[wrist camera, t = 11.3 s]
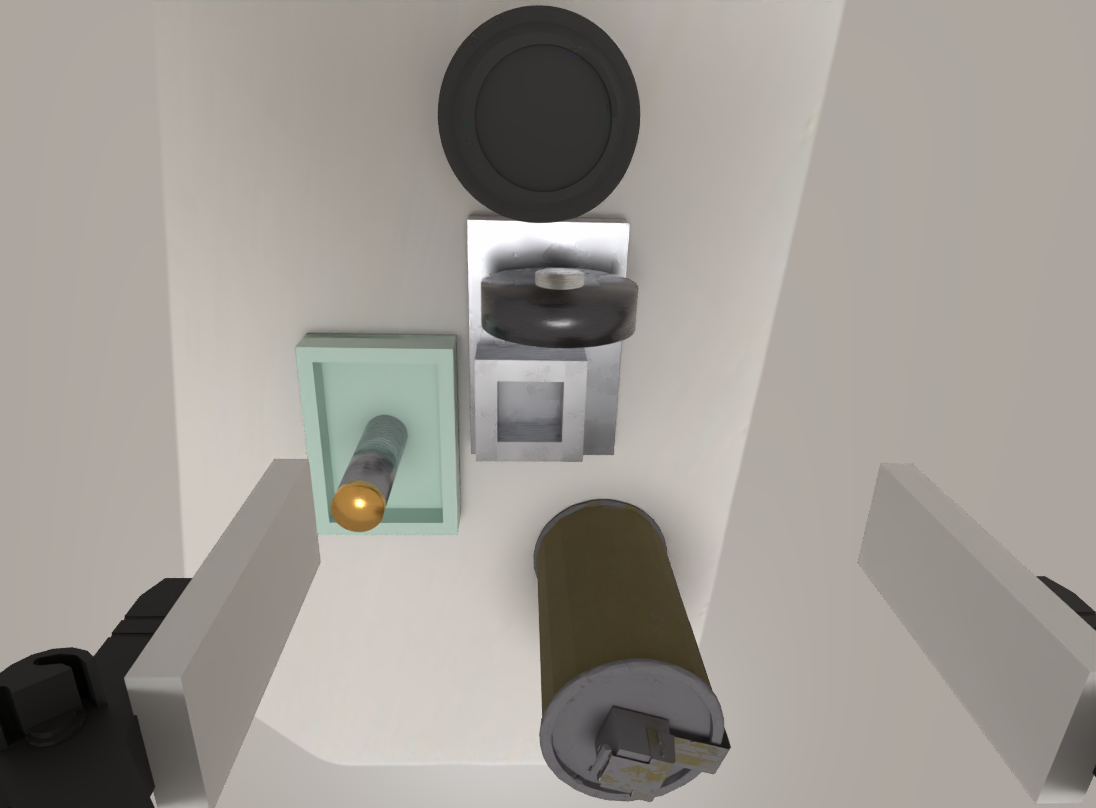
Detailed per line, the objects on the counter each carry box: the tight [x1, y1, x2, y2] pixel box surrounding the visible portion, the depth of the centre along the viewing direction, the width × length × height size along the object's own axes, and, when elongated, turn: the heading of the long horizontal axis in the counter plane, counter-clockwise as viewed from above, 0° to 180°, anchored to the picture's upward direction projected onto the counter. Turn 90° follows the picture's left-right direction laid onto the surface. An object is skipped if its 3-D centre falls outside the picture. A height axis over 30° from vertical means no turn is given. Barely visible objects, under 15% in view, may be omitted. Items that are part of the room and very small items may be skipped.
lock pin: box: [331, 415, 408, 532], centre depth 46 cm, size 3×3×10 cm
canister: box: [534, 500, 731, 802], centre depth 47 cm, size 11×10×20 cm
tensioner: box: [467, 215, 638, 462], centre depth 44 cm, size 16×10×11 cm, turn 178°
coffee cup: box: [438, 6, 640, 223], centre depth 37 cm, size 9×9×15 cm
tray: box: [295, 333, 461, 535], centre depth 50 cm, size 14×10×3 cm
